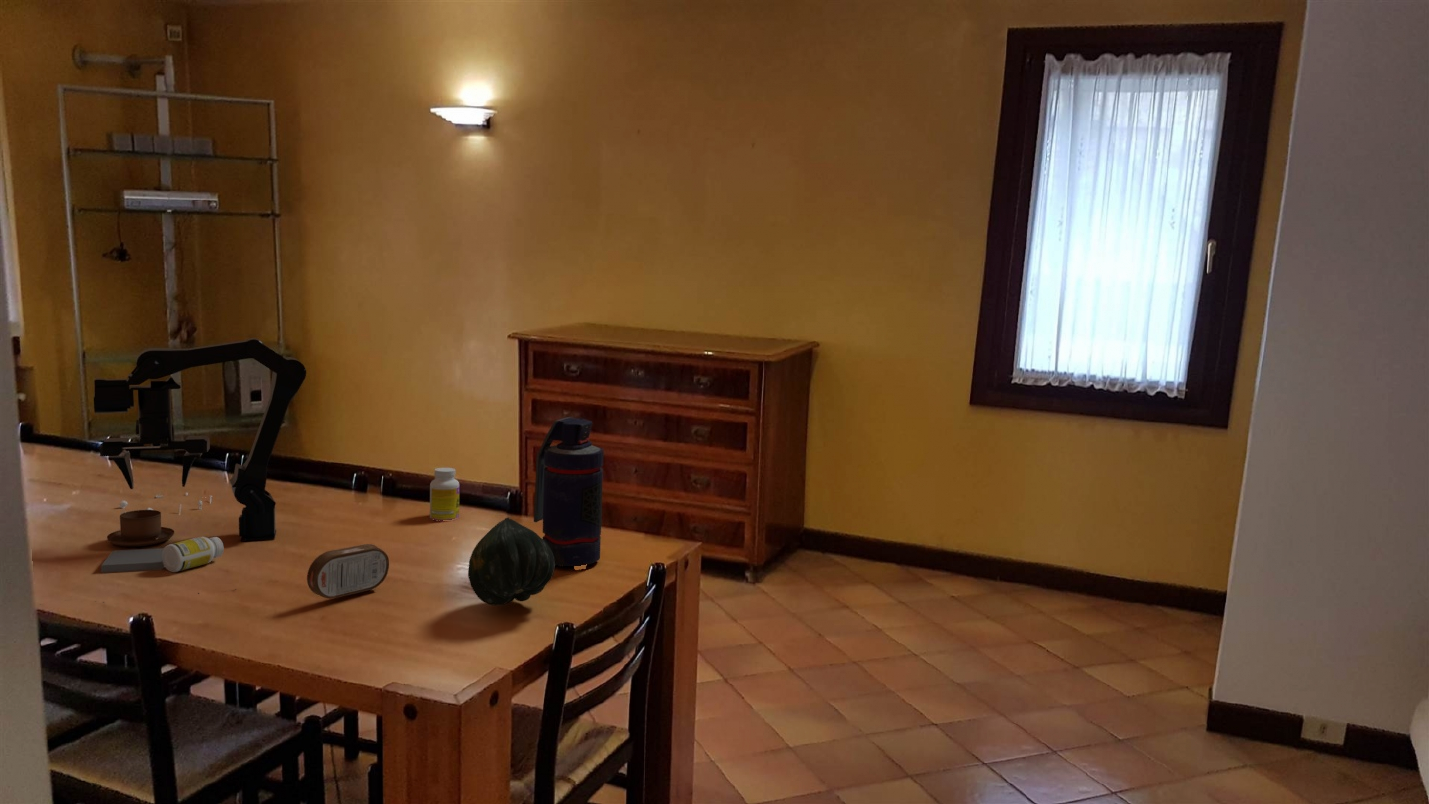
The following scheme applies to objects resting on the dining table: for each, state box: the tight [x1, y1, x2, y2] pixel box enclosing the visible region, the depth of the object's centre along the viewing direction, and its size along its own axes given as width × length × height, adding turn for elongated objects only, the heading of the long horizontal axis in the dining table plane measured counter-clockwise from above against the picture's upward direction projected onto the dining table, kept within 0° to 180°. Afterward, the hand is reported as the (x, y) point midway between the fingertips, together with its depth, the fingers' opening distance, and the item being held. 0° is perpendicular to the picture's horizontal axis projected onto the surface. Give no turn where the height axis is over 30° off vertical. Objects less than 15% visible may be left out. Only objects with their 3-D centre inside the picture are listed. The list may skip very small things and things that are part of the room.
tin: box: [306, 543, 390, 600], centre depth 175 cm, size 15×3×8 cm, turn 141°
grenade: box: [533, 416, 605, 567], centre depth 198 cm, size 14×12×30 cm
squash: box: [467, 517, 556, 606], centre depth 172 cm, size 14×15×15 cm
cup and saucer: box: [106, 509, 175, 548], centre depth 200 cm, size 12×12×6 cm
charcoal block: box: [100, 547, 165, 574], centre depth 186 cm, size 10×10×2 cm
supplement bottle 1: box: [162, 536, 224, 573], centre depth 186 cm, size 5×5×10 cm
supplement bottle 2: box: [429, 467, 460, 521], centre depth 226 cm, size 7×7×13 cm
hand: (158, 487), depth 196 cm, fingers open, 9 cm apart
